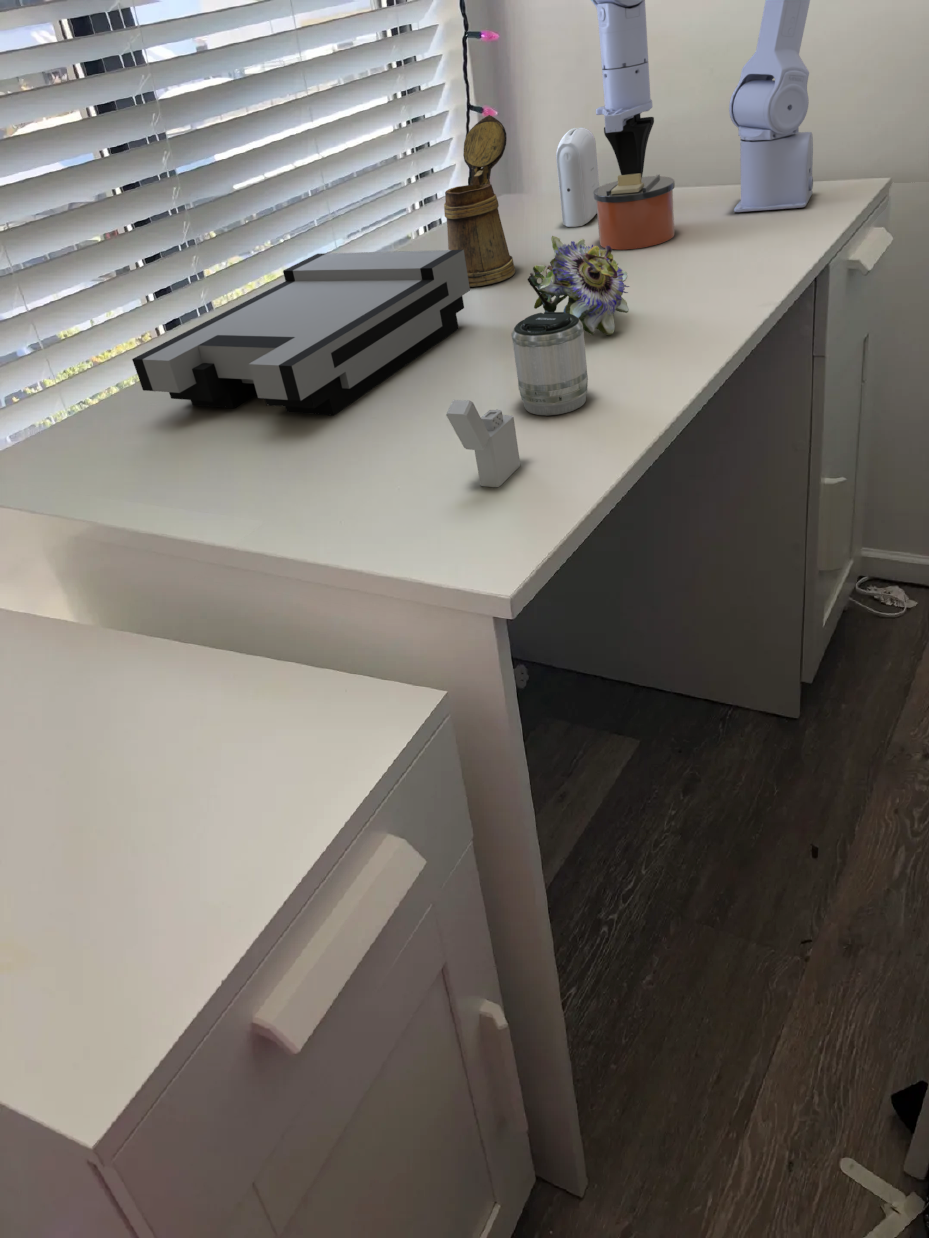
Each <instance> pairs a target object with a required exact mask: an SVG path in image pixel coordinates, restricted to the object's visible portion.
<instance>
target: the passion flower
mask: <svg viewBox="0 0 929 1238" xmlns="http://www.w3.org/2000/svg"><path fill="white" fill-rule="evenodd" d="M550 239H551V244H552V245H551V246H552V249H553V253H554V254H553V256H554V258H552V259H551V260H550V261H549V265H548V266H546V265H543V264H542V265H538V264H536V265H533V267H532V270H533V272H530V273H529V275H528V278H527V279H526V280H527V282H528V283H529V285H530V287H531V288H532V289H533V290H534V291H535V293H536V294H537V296H538V297H537V299H535V302H534V305H533V308H534V309H535V310H537V309H538V308H540V307H541V306H542V308H543V310H544V312H557V307H558V305H559V304H560V303H561V302H562V301H563V300H565V299H566V298H567V297H568V298H567V299H568V300H567V303H566V305H565V306H564V307H563V311H562V312H564V313H568V314H572V315H574V316H576V317H578V318H579V319H580V321H581V322H582V324H583V331H585V332H586V333H588V334H589V335H591V336H594V334H595V333H596V330H597V331H599V332H600V333H602V334H604V335H606V336H612V335H613V334H614V331H615V327H616V325H615V317H614V314H615V312H619V313H623V314H627V313H629V312H630V307H629V305H628V301H626V299H625V298H624V297H622V296H623V294H629V291H625V290H626V288H630V286H629V285H627V284H625V283H624V282H626V280H627V279H628V271H626V270H623V269H622V268H621V267H619V263H617V261H616V260H615V259H614V254H612V252H613V249H611V247H610V246H605V248H604V249H600V247H599V246H598V245H594V244H591V247H590V246H589V245H588V246H587V245H586V242H585V241H586V240H585V239H584V238H580V239H579V240H578V241H577V242H575V241H574V240H572V241H570V244H569V243H568V244H566V243H563V242H562V241H561V238H560V237H558V236H555V235H552V236H551V238H550ZM548 270H549V271H548ZM543 272H544V273H545V276H544V274H543ZM538 279H540V280H541V282H538ZM553 298H554V299H553Z"/></svg>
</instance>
